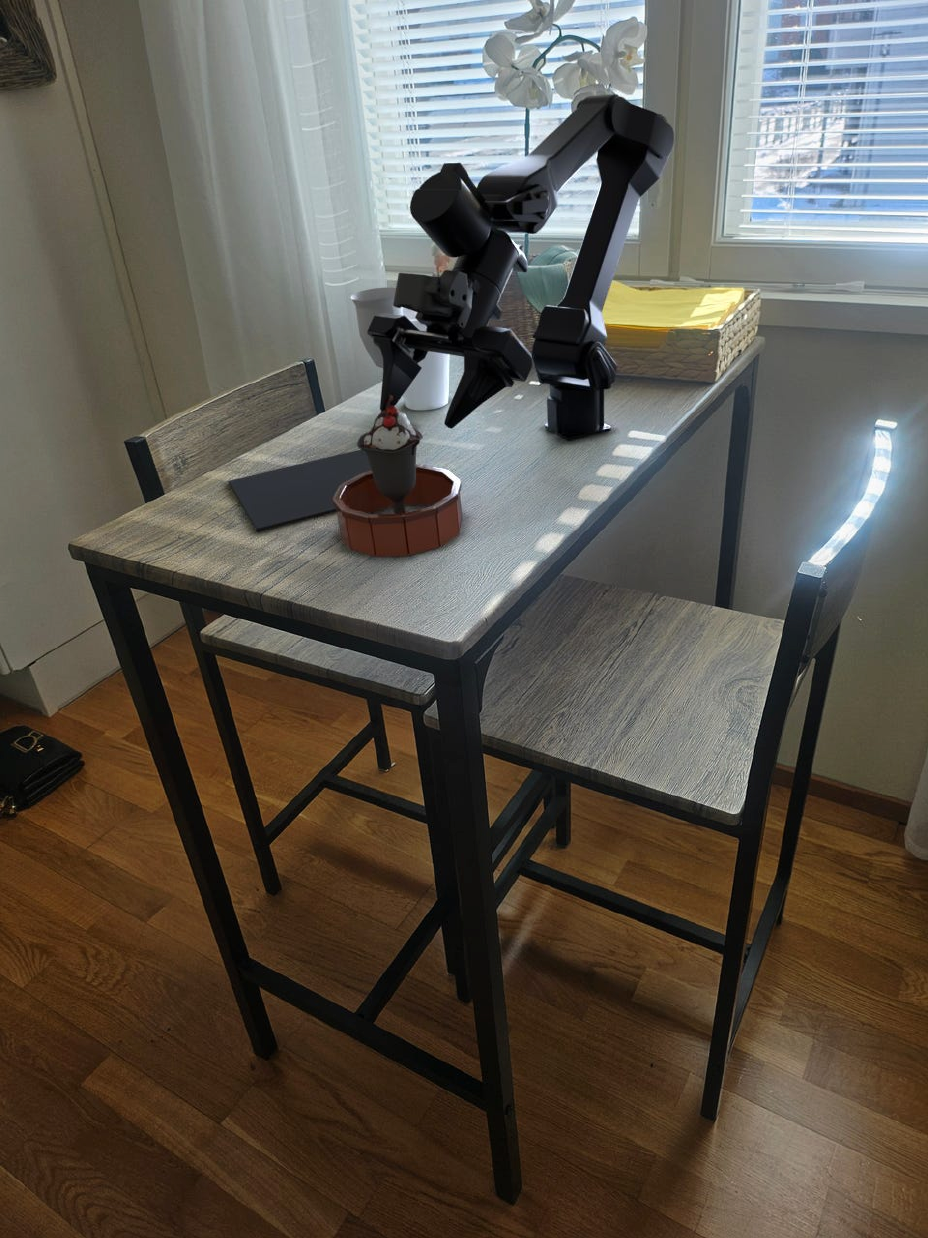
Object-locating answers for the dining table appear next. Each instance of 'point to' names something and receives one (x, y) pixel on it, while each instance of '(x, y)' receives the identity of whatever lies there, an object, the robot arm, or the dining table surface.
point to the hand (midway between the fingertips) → (414, 419)
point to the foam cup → (428, 377)
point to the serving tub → (401, 529)
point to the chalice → (366, 309)
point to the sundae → (392, 455)
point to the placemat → (297, 489)
